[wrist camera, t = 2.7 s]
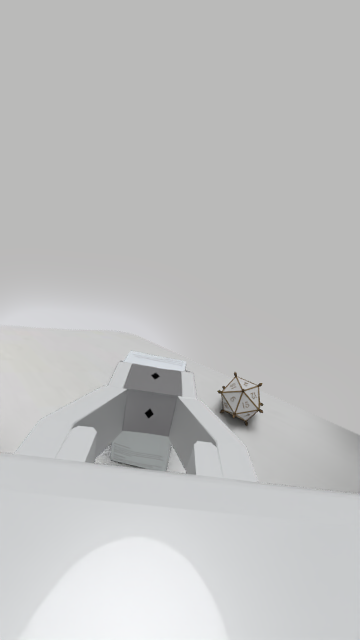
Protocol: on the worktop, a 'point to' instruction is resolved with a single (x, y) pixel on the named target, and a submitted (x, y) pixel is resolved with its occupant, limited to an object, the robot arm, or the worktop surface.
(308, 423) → the worktop surface
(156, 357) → the skincare box
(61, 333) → the worktop surface
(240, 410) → the game die
